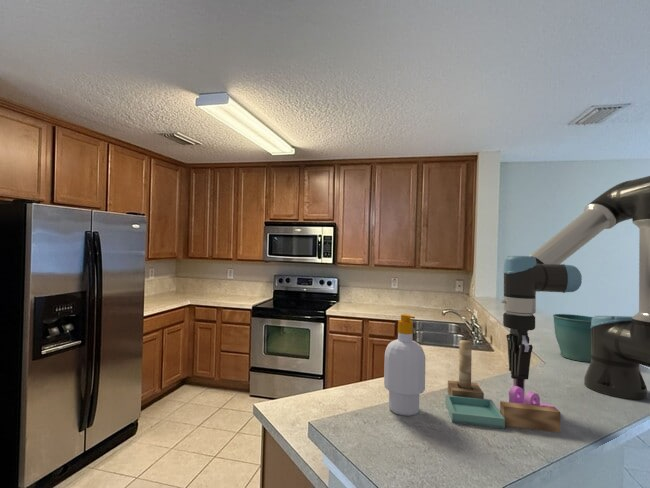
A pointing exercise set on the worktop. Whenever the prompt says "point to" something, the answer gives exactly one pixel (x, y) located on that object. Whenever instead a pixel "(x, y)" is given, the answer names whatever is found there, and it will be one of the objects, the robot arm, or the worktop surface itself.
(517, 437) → the worktop surface
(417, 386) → the soap bottle
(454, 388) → the socket block
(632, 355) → the robot arm
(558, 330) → the flower pot
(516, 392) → the bracket
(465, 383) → the dowel
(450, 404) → the tray
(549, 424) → the block
